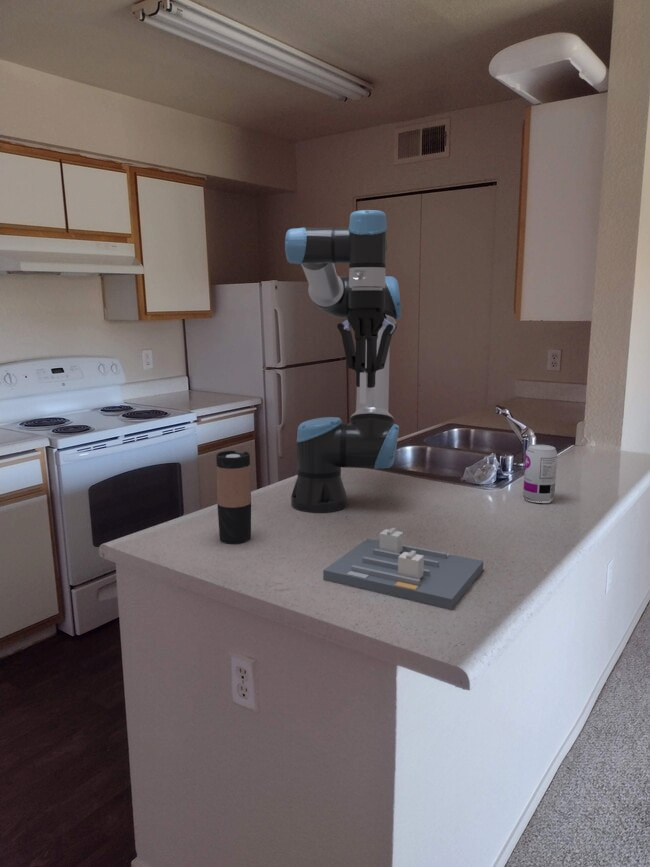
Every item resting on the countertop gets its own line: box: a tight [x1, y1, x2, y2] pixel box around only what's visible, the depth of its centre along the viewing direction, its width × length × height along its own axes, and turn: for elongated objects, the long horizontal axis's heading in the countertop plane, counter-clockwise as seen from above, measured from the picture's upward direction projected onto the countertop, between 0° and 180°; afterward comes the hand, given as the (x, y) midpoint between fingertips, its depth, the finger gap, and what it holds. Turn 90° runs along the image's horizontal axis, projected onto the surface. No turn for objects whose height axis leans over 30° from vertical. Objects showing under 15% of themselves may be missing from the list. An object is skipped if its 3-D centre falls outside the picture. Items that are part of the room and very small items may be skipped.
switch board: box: [322, 538, 484, 610], centre depth 129 cm, size 26×20×3 cm
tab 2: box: [398, 550, 424, 579], centre depth 122 cm, size 4×3×5 cm
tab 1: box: [379, 527, 404, 553], centre depth 135 cm, size 4×3×5 cm
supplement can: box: [522, 444, 558, 502], centre depth 177 cm, size 8×8×15 cm
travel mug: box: [215, 450, 252, 545], centre depth 147 cm, size 8×8×20 cm
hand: (365, 402), depth 138 cm, fingers closed
